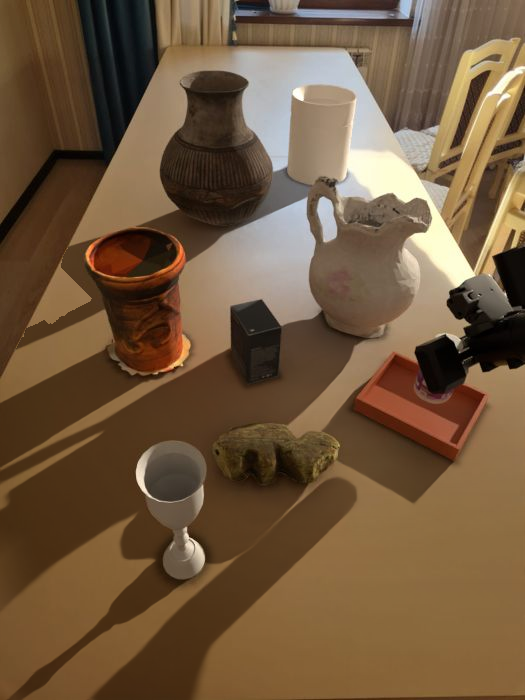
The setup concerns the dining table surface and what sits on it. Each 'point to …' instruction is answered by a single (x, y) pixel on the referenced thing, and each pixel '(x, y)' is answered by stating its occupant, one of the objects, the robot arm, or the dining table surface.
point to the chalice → (175, 500)
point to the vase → (215, 153)
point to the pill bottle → (421, 385)
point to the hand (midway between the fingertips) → (435, 353)
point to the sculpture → (273, 453)
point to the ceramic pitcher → (364, 258)
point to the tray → (420, 407)
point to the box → (255, 341)
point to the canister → (320, 132)
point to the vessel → (141, 297)
